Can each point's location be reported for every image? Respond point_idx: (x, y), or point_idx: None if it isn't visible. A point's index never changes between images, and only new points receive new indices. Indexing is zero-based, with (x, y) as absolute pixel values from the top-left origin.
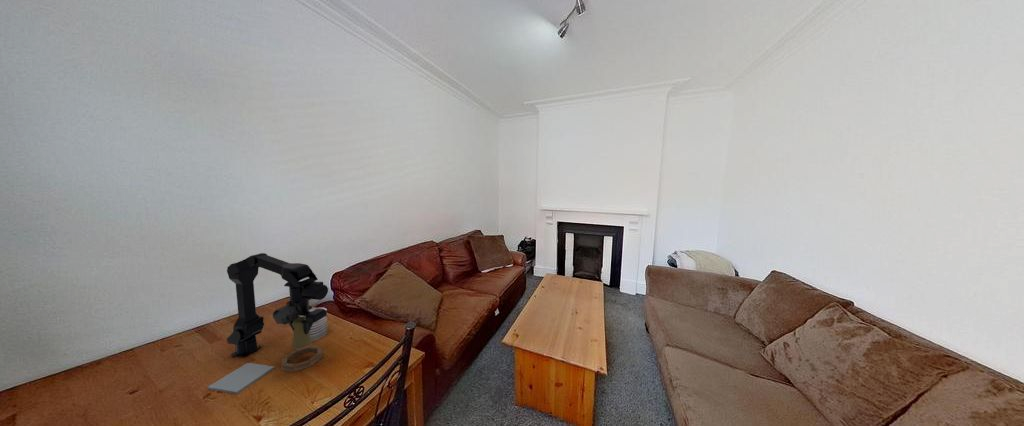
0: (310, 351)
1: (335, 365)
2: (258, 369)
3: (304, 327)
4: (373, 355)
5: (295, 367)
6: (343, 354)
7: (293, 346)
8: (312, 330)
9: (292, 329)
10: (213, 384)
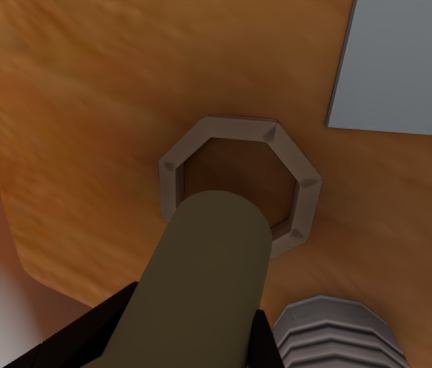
0: None
1: (84, 165)
2: (408, 94)
3: (50, 358)
4: (18, 218)
5: (199, 122)
6: (109, 223)
7: (234, 200)
8: (302, 355)
9: (276, 355)
10: None
